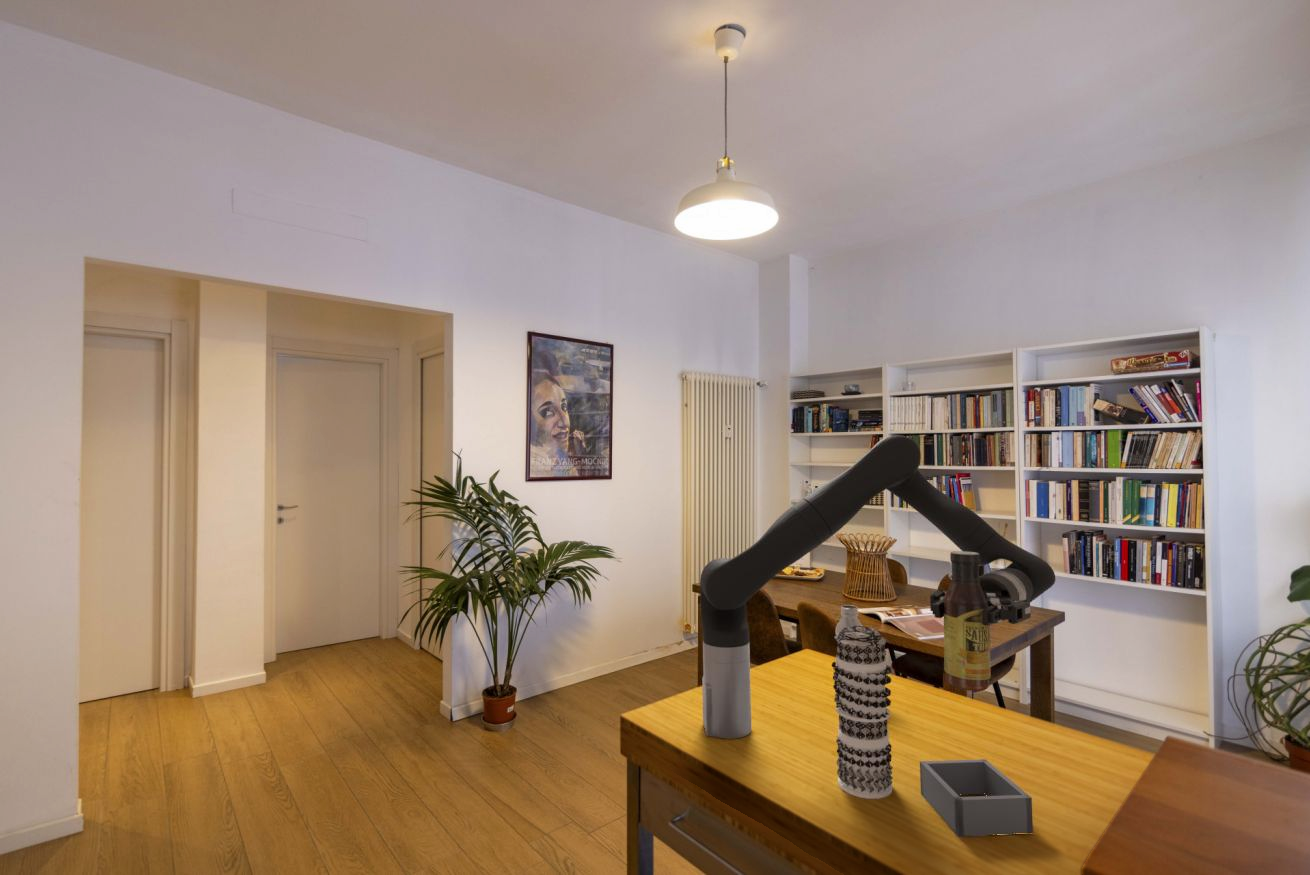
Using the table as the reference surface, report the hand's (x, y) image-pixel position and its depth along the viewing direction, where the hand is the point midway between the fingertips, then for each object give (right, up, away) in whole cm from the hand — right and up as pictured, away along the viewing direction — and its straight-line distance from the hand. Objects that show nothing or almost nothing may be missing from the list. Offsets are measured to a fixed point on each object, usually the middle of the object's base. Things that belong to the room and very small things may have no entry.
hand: (960, 614), depth 94 cm
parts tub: (+2, -30, 0) cm, 30 cm away
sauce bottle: (+2, -11, +1) cm, 11 cm away
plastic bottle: (-1, -32, +47) cm, 57 cm away
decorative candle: (-11, -30, +9) cm, 34 cm away
